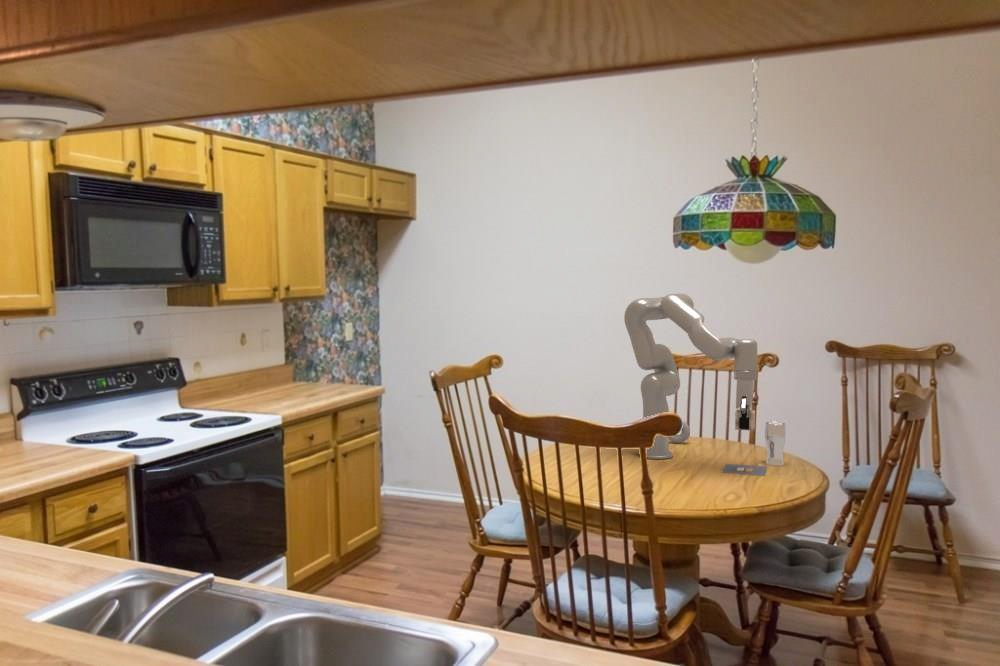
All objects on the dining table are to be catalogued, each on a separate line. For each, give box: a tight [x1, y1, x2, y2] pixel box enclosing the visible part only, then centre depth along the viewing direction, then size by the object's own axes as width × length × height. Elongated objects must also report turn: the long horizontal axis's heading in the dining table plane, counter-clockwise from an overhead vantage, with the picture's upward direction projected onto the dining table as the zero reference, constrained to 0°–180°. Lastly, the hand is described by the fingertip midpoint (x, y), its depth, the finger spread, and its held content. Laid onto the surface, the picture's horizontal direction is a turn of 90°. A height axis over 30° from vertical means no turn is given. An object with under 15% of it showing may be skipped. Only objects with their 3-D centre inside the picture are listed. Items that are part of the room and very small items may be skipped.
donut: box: [669, 420, 691, 444], centre depth 305 cm, size 10×3×10 cm, turn 68°
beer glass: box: [764, 421, 787, 466], centre depth 267 cm, size 7×7×15 cm
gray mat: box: [721, 463, 768, 477], centre depth 259 cm, size 14×14×1 cm
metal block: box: [734, 409, 756, 432], centre depth 258 cm, size 6×6×6 cm
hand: (744, 426), depth 258 cm, fingers closed on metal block, 6 cm apart
